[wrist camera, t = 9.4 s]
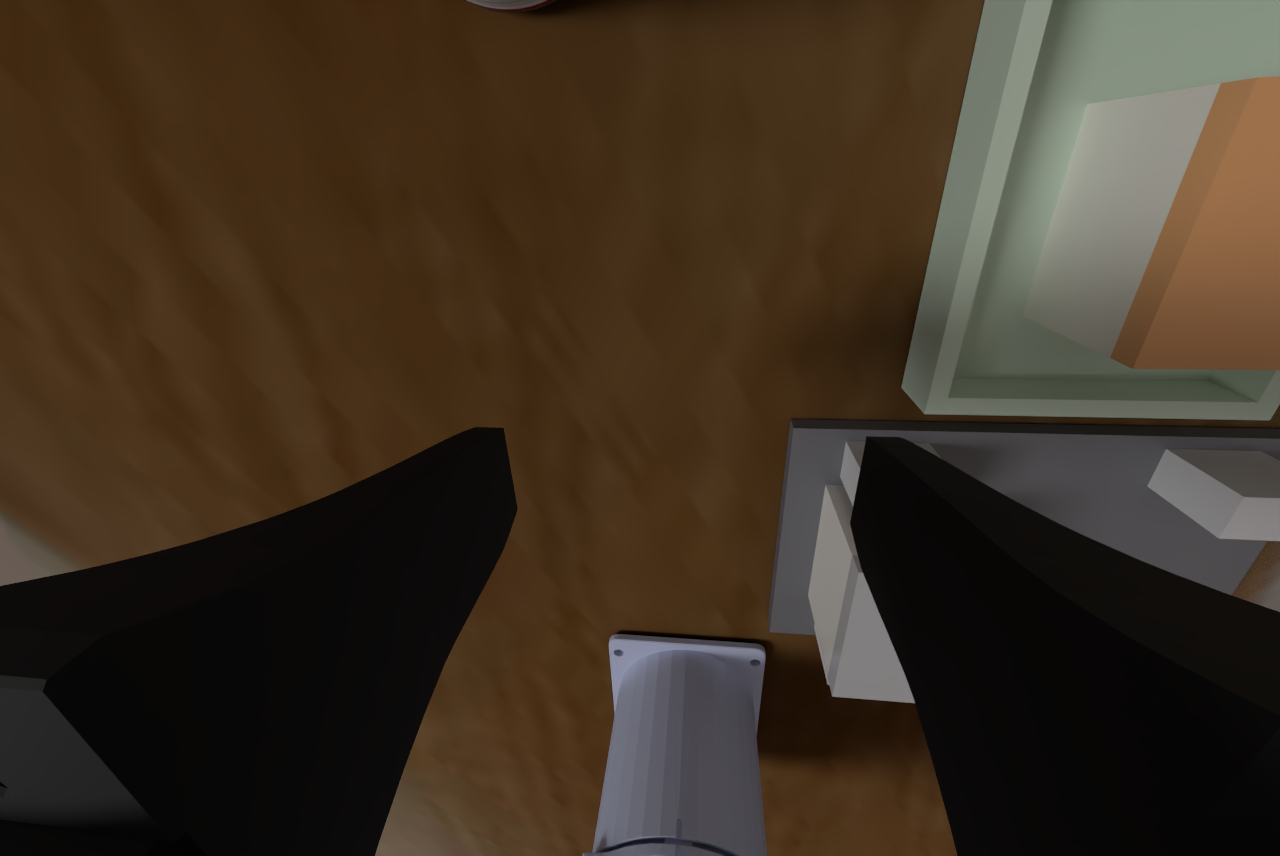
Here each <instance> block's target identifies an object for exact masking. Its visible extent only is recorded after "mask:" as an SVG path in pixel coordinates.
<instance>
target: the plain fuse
mask: <svg viewBox="0 0 1280 856" xmlns="http://www.w3.org/2000/svg"><path fill="white" fill-rule="evenodd" d="M852 510H853V506H852V503H851V501H850V499H849V496H848V494H847V492H846V489H845V487H844V485H825V491H824V498H823V504H822V510H821V517H820V523H819V529H818V536H817V542H816V548H815V555H814V561H813V567H812V573H811V580H810V586H809V592H808V597H809V601H810V606H811V610H812V614H813V618H814V622H815V627H816V631H817V635H818V639H819V643H820V648H821V652H822V656H823V660H824V664H825V669H826V673H827V677H828V681H829V685H830V690H831V694H832V697H843V698H856V699H869V700H881V701H894V702H906V703H915V701H914V698H913V695H912V693H911V690H910V687H909V684H908V682H907V679H906V676H905V674H904V671H903V669H902V666H901V664H900V662H899V659H898V657H897V654H896V652H895V650H894V647H893V645H892V642H891V640H890V638H889V635H888V633H887V630H886V628H885V626H884V623H883V621H882V618H881V616H880V614H879V611H878V609H877V606H876V604H875V601H874V599H873V597H872V594H871V592H870V589H869V587H868V584H867V582H866V579H865V577H864V574H863V572H862V569H861V566H860V562H859V558H858V555H857V551H856V547H855V543H854V539H853V534H852V530H851V526H850V520H851V515H852Z"/></svg>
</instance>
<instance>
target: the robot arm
mask: <svg viewBox="0 0 1280 856" xmlns="http://www.w3.org/2000/svg"><path fill="white" fill-rule="evenodd" d="M516 512H517V503H516V497H515V491H514V486H513V480H512V474H511V468H510V463H509V457H508V451H507V445H506V440H505V434H504V428H484V427H475V428H472V429H469V430H466V431H464V432H461V433H459V434H457V435H455V436H452V437H450V438H448V439H446V440H444V441H442V442H440V443H438V444H436V445H434V446H432V447H430V448H428V449H426V450H424V451H422V452H420V453H418V454H416V455H414V456H412V457H410V458H408V459H406V460H404V461H402V462H400V463H398V464H396V465H394V466H392V467H390V468H388V469H386V470H384V471H381V472H379V473H377V474H375V475H373V476H371V477H368V478H366V479H364V480H362V481H360V482H358V483H355V484H353V485H351V486H349V487H347V488H345V489H343V490H340V491H338V492H336V493H333V494H331V495H329V496H326V497H324V498H321V499H319V500H316V501H314V502H311V503H309V504H306V505H304V506H301V507H298V508H296V509H293V510H290V511H288V512H285V513H282V514H280V515H277V516H274V517H271V518H268V519H266V520H262V521H259V522H256V523H253V524H250V525H247V526H243V527H240V528H237V529H234V530H231V531H228V532H224V533H221V534H218V535H215V536H212V537H208V538H205V539H202V540H199V541H195V542H192V543H188V544H185V545H181V546H177V547H173V548H170V549H166V550H162V551H158V552H155V553H151V554H147V555H143V556H139V557H135V558H130V559H126V560H122V561H118V562H114V563H110V564H106V565H101V566H97V567H92V568H88V569H83V570H79V571H74V572H69V573H64V574H59V575H54V576H49V577H44V578H39V579H34V580H29V581H24V582H19V583H14V584H9V585H4V586H0V856H375V853H376V850H377V847H378V843H379V840H380V837H381V834H382V831H383V829H384V826H385V823H386V820H387V817H388V814H389V811H390V808H391V805H392V802H393V799H394V796H395V793H396V790H397V788H398V785H399V782H400V779H401V776H402V773H403V770H404V767H405V765H406V762H407V759H408V757H409V754H410V751H411V749H412V746H413V743H414V740H415V738H416V735H417V732H418V730H419V727H420V724H421V722H422V719H423V716H424V714H425V711H426V709H427V706H428V704H429V701H430V699H431V696H432V694H433V691H434V689H435V686H436V684H437V681H438V679H439V676H440V674H441V671H442V669H443V666H444V664H445V662H446V660H447V658H448V656H449V653H450V651H451V649H452V647H453V645H454V643H455V641H456V639H457V637H458V635H459V633H460V632H461V630H462V628H463V626H464V624H465V622H466V620H467V618H468V616H469V615H470V613H471V611H472V609H473V607H474V605H475V603H476V601H477V600H478V598H479V596H480V594H481V592H482V590H483V588H484V586H485V584H486V583H487V581H488V579H489V577H490V575H491V573H492V571H493V569H494V567H495V565H496V563H497V561H498V559H499V557H500V555H501V553H502V551H503V549H504V547H505V544H506V541H507V539H508V536H509V533H510V531H511V528H512V524H513V521H514V518H515V515H516ZM850 526H851V530H852V534H853V539H854V543H855V547H856V551H857V555H858V558H859V562H860V566H861V569H862V572H863V574H864V577H865V579H866V582H867V584H868V587H869V589H870V592H871V594H872V597H873V599H874V601H875V604H876V606H877V609H878V611H879V614H880V616H881V618H882V621H883V623H884V626H885V628H886V630H887V633H888V635H889V638H890V640H891V642H892V645H893V647H894V650H895V652H896V654H897V657H898V659H899V662H900V664H901V666H902V669H903V671H904V674H905V676H906V679H907V682H908V684H909V687H910V690H911V693H912V695H913V698H914V701H915V704H916V708H917V711H918V714H919V718H920V721H921V724H922V728H923V731H924V734H925V738H926V741H927V745H928V748H929V751H930V755H931V758H932V761H933V765H934V769H935V772H936V776H937V780H938V783H939V787H940V791H941V794H942V798H943V802H944V805H945V809H946V813H947V816H948V820H949V824H950V827H951V831H952V835H953V839H954V843H955V847H956V851H957V855H958V856H1280V612H1278V611H1275V610H1272V609H1268V608H1266V607H1263V606H1260V605H1257V604H1254V603H1251V602H1248V601H1245V600H1243V599H1240V598H1237V597H1234V596H1232V595H1229V594H1226V593H1224V592H1221V591H1218V590H1216V589H1213V588H1210V587H1208V586H1205V585H1202V584H1200V583H1197V582H1194V581H1192V580H1189V579H1186V578H1184V577H1181V576H1178V575H1176V574H1173V573H1171V572H1168V571H1166V570H1163V569H1161V568H1158V567H1156V566H1153V565H1151V564H1148V563H1146V562H1143V561H1141V560H1139V559H1136V558H1134V557H1132V556H1129V555H1127V554H1125V553H1123V552H1120V551H1118V550H1116V549H1113V548H1111V547H1109V546H1107V545H1104V544H1102V543H1100V542H1098V541H1095V540H1093V539H1091V538H1089V537H1086V536H1084V535H1082V534H1080V533H1078V532H1076V531H1074V530H1071V529H1069V528H1067V527H1065V526H1063V525H1061V524H1059V523H1057V522H1055V521H1053V520H1051V519H1049V518H1047V517H1045V516H1043V515H1041V514H1039V513H1038V512H1036V511H1034V510H1032V509H1030V508H1028V507H1026V506H1024V505H1022V504H1020V503H1018V502H1016V501H1015V500H1013V499H1011V498H1009V497H1007V496H1005V495H1004V494H1002V493H1000V492H998V491H996V490H995V489H993V488H991V487H989V486H988V485H986V484H984V483H982V482H981V481H979V480H977V479H975V478H974V477H972V476H970V475H968V474H967V473H965V472H963V471H962V470H960V469H958V468H956V467H955V466H953V465H951V464H950V463H948V462H946V461H944V460H943V459H941V458H939V457H938V456H936V455H934V454H932V453H931V452H929V451H927V450H925V449H923V448H922V447H920V446H918V445H916V444H914V443H912V442H910V441H908V440H906V439H903V438H901V437H872V436H867V437H866V442H865V447H864V452H863V457H862V463H861V468H860V473H859V478H858V483H857V489H856V494H855V499H854V504H853V510H852V515H851V520H850ZM609 654H610V665H611V677H612V688H613V700H614V711H615V718H614V724H613V730H612V736H611V742H610V748H609V754H608V760H607V767H606V773H605V779H604V785H603V791H602V797H601V803H600V809H599V816H598V822H597V828H596V834H595V840H594V846H593V852H584V853H583V855H582V856H767V848H766V837H765V826H764V815H763V804H762V793H761V782H760V770H759V759H758V748H757V728H758V720H759V711H760V703H761V694H762V685H763V677H764V668H765V659H766V653H765V648H764V647H763V646H762V645H760V644H756V643H741V642H727V641H712V640H698V639H684V638H669V637H655V636H640V635H626V634H615V635H612V636H611V637H610V641H609ZM755 659H756V660H755Z"/></svg>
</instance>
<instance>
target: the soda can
mask: <svg viewBox="0 0 1280 856" xmlns="http://www.w3.org/2000/svg"><path fill="white" fill-rule="evenodd" d="M465 1H467V2H469V3H471V4H474V5H476V6H478V7H481V8H485V9H488V10H492V11H497V12H506V13H517V12H526V11H531V10H536V9H538V8H541V7H544V6H547V5H549V4H551V3H553V2H555V1H557V0H465Z"/></svg>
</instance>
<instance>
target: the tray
mask: <svg viewBox="0 0 1280 856" xmlns="http://www.w3.org/2000/svg"><path fill="white" fill-rule="evenodd" d="M1277 76H1280V0H985V3H984V7H983V12H982V16H981V21H980V26H979V30H978V35H977V40H976V44H975V49H974V53H973V58H972V63H971V67H970V72H969V77H968V81H967V86H966V90H965V95H964V100H963V104H962V109H961V114H960V118H959V123H958V127H957V132H956V137H955V141H954V146H953V151H952V155H951V160H950V164H949V169H948V174H947V178H946V183H945V188H944V192H943V197H942V201H941V206H940V211H939V215H938V220H937V225H936V229H935V234H934V238H933V243H932V248H931V252H930V257H929V262H928V266H927V271H926V275H925V280H924V285H923V289H922V294H921V299H920V303H919V308H918V312H917V317H916V322H915V326H914V331H913V336H912V340H911V345H910V349H909V354H908V359H907V363H906V368H905V373H904V377H903V382H902V386H901V388H902V389H903V390H904V391H905V392H906V394H907V395H908V396H909V397H910V398H911V399H912V400H913V402H914V403H915V404H916V405H917V406H918V407H919V408H920V410H921V411H922V412H923V413H924V414H945V415H1000V416H1055V417H1110V418H1165V419H1219V420H1271V418H1272V416H1273V415H1274V413H1275V411H1276V410H1277V408H1278V406H1279V404H1280V370H1207V369H1132V368H1129V367H1127V366H1125V365H1123V364H1121V363H1119V362H1117V361H1115V360H1113V359H1111V358H1109V357H1107V356H1104V355H1102V354H1100V353H1098V352H1096V351H1094V350H1092V349H1090V348H1088V347H1086V346H1084V345H1082V344H1080V343H1077V342H1075V341H1073V340H1071V339H1069V338H1067V337H1065V336H1063V335H1061V334H1059V333H1057V332H1055V331H1052V330H1050V329H1048V328H1046V327H1044V326H1042V325H1040V324H1038V323H1036V322H1034V321H1032V320H1030V319H1027V318H1025V317H1023V316H1022V314H1023V311H1024V308H1025V305H1026V301H1027V298H1028V295H1029V292H1030V288H1031V285H1032V282H1033V279H1034V276H1035V272H1036V269H1037V266H1038V263H1039V259H1040V256H1041V253H1042V250H1043V246H1044V243H1045V240H1046V237H1047V233H1048V230H1049V227H1050V224H1051V220H1052V217H1053V214H1054V211H1055V208H1056V204H1057V201H1058V198H1059V195H1060V191H1061V188H1062V185H1063V182H1064V178H1065V175H1066V172H1067V169H1068V165H1069V162H1070V159H1071V156H1072V153H1073V149H1074V146H1075V143H1076V140H1077V136H1078V133H1079V130H1080V127H1081V123H1082V120H1083V117H1084V114H1085V110H1086V107H1087V104H1091V103H1097V102H1104V101H1110V100H1116V99H1123V98H1129V97H1136V96H1142V95H1149V94H1155V93H1161V92H1168V91H1174V90H1181V89H1187V88H1193V87H1200V86H1206V85H1213V84H1219V83H1226V82H1232V81H1238V80H1245V79H1251V78H1258V77H1277Z"/></svg>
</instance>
